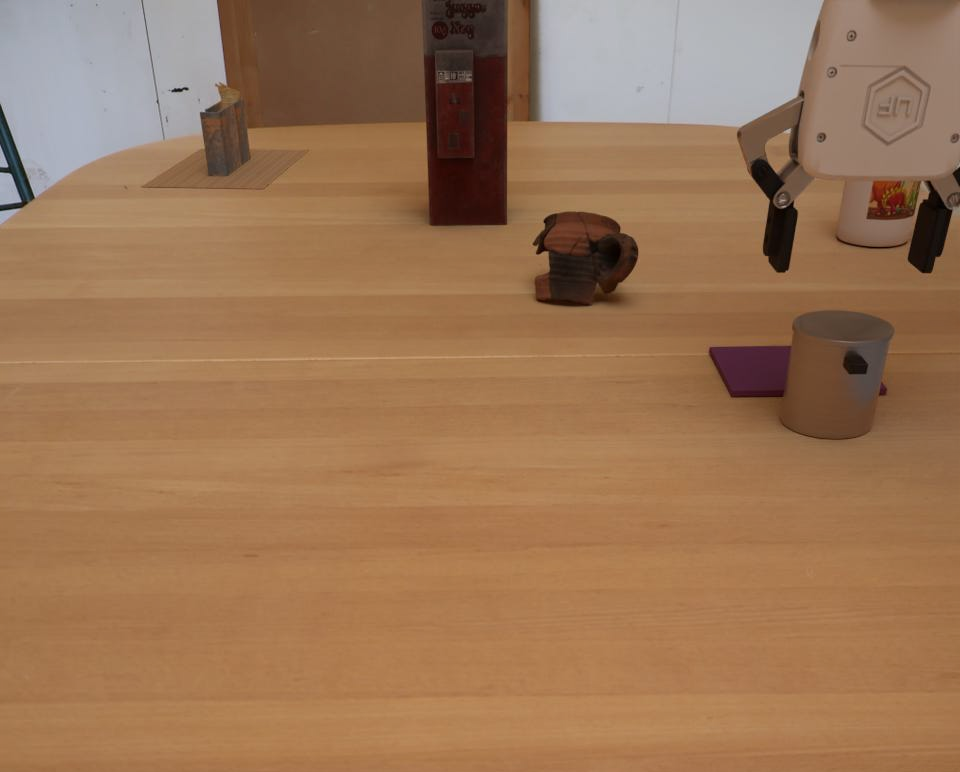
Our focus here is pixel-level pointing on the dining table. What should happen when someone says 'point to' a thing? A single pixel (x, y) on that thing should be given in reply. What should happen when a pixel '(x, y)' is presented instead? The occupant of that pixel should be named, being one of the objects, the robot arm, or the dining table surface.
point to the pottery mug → (583, 256)
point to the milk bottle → (877, 212)
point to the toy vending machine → (466, 110)
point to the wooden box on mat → (227, 152)
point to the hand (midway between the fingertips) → (848, 267)
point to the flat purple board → (755, 369)
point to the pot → (835, 373)
